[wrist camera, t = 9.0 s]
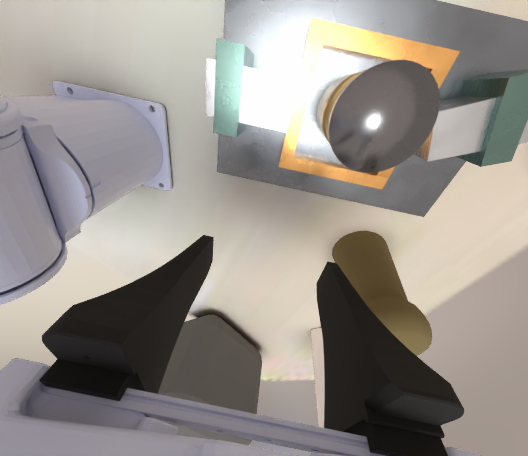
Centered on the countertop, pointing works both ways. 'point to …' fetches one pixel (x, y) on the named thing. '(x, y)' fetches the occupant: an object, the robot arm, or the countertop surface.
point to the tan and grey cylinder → (379, 114)
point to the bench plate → (353, 61)
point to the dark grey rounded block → (213, 371)
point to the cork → (382, 287)
